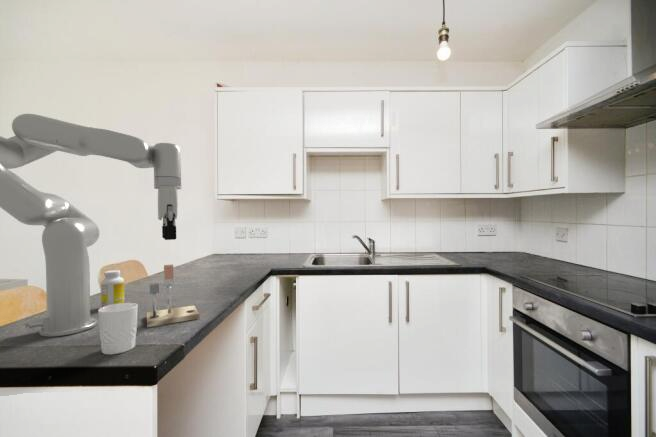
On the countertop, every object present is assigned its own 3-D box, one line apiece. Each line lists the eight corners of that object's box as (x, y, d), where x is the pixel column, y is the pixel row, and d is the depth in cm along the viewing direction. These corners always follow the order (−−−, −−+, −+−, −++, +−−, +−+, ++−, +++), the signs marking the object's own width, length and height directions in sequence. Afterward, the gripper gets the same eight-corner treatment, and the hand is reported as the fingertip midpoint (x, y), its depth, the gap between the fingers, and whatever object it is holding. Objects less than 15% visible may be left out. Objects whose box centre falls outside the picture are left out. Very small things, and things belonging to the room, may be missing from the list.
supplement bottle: (126, 304, 114) (126, 269, 114) (121, 309, 107) (120, 272, 107) (105, 306, 112) (104, 270, 112) (98, 311, 105) (97, 273, 105)
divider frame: (150, 316, 92) (149, 285, 92) (149, 314, 95) (149, 283, 95) (197, 309, 99) (197, 280, 99) (196, 307, 102) (195, 279, 102)
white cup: (124, 340, 80) (123, 301, 80) (145, 344, 77) (145, 304, 77) (90, 352, 72) (90, 310, 72) (113, 358, 69) (112, 313, 69)
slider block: (164, 314, 95) (163, 266, 95) (163, 311, 98) (162, 265, 98) (175, 312, 96) (174, 265, 96) (173, 309, 99) (173, 264, 99)
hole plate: (147, 327, 89) (147, 321, 89) (146, 316, 99) (146, 311, 99) (199, 318, 96) (199, 313, 96) (194, 309, 106) (194, 304, 106)
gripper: (153, 186, 103) (154, 238, 103) (155, 180, 88) (156, 241, 88) (178, 186, 106) (179, 236, 106) (184, 181, 92) (185, 239, 92)
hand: (169, 238), depth 97 cm, fingers open, 9 cm apart
